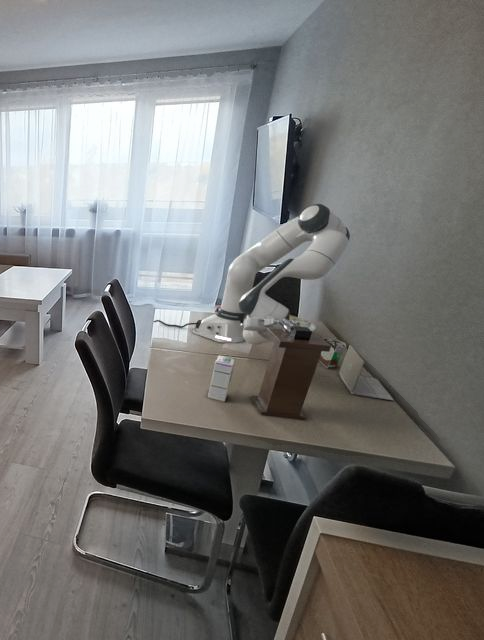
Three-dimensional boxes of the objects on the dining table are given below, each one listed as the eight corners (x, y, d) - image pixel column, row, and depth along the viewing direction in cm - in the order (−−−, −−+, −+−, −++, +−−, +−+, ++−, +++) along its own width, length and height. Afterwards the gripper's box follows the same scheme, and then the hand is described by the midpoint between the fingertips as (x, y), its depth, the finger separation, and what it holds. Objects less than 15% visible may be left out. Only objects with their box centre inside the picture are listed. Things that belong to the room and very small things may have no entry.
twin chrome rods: (273, 320, 144) (275, 312, 143) (287, 321, 144) (289, 313, 142) (293, 339, 128) (296, 330, 127) (309, 340, 127) (312, 331, 126)
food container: (345, 371, 168) (354, 349, 164) (329, 370, 169) (337, 347, 165) (331, 359, 179) (338, 337, 175) (315, 357, 180) (322, 336, 176)
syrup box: (224, 402, 143) (234, 364, 137) (206, 397, 146) (215, 360, 140) (227, 395, 148) (236, 358, 142) (209, 390, 150) (218, 354, 145)
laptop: (393, 401, 146) (408, 368, 141) (350, 394, 150) (363, 362, 145) (376, 380, 161) (389, 349, 156) (338, 374, 166) (349, 344, 160)
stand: (248, 396, 148) (267, 328, 137) (290, 400, 145) (313, 331, 135) (259, 414, 136) (281, 341, 126) (306, 420, 134) (332, 346, 123)
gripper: (238, 318, 156) (252, 310, 142) (297, 322, 152) (318, 315, 139) (237, 334, 155) (251, 328, 142) (296, 339, 152) (317, 333, 138)
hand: (285, 321), depth 140 cm, fingers open, 5 cm apart
